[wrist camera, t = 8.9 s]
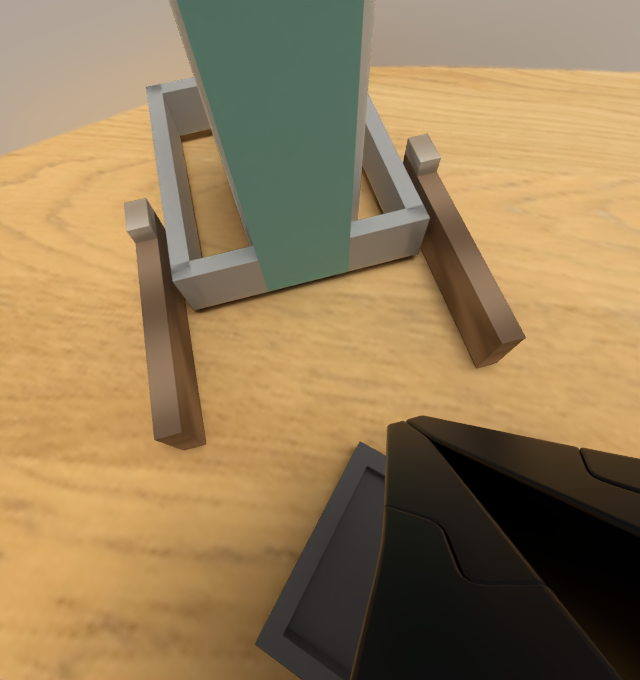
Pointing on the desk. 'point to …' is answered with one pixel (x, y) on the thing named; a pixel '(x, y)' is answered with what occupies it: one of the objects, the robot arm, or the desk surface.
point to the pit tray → (332, 578)
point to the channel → (437, 246)
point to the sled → (280, 148)
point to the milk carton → (361, 115)
